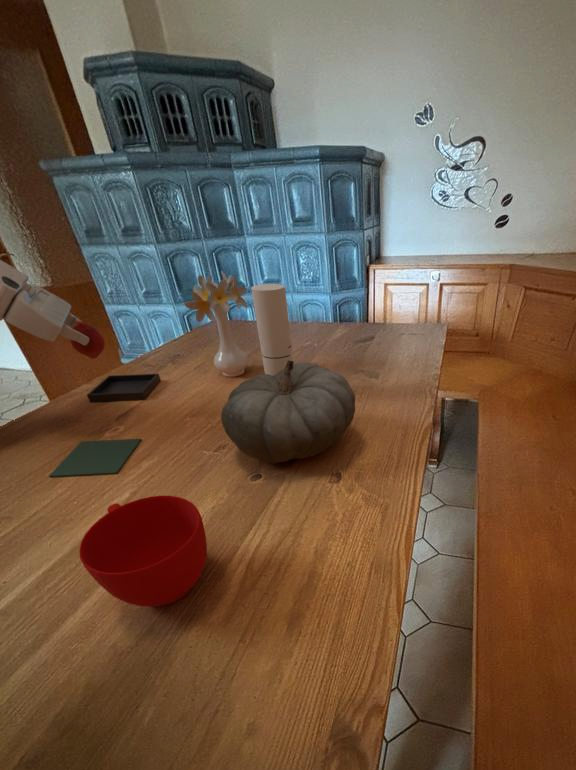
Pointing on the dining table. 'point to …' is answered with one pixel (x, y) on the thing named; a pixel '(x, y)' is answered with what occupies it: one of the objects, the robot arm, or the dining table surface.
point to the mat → (96, 458)
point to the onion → (95, 341)
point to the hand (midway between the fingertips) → (89, 337)
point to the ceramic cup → (147, 550)
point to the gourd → (289, 412)
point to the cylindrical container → (273, 326)
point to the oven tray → (124, 388)
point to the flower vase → (221, 319)
